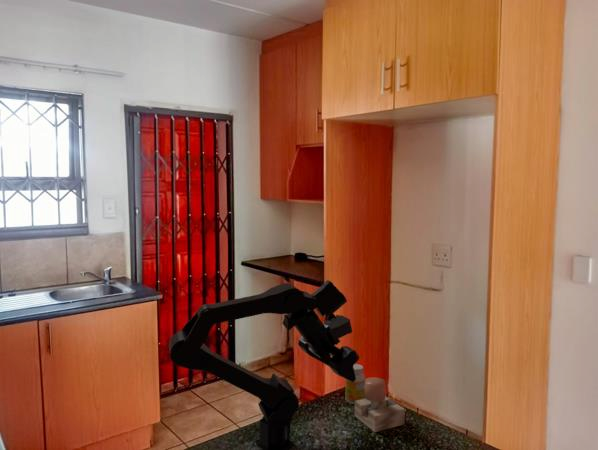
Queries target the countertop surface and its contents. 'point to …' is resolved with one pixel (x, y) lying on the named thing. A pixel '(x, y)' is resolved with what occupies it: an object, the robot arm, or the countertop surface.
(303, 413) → the countertop surface
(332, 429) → the countertop surface
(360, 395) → the supplement bottle
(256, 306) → the robot arm
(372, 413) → the knob track
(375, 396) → the knob
